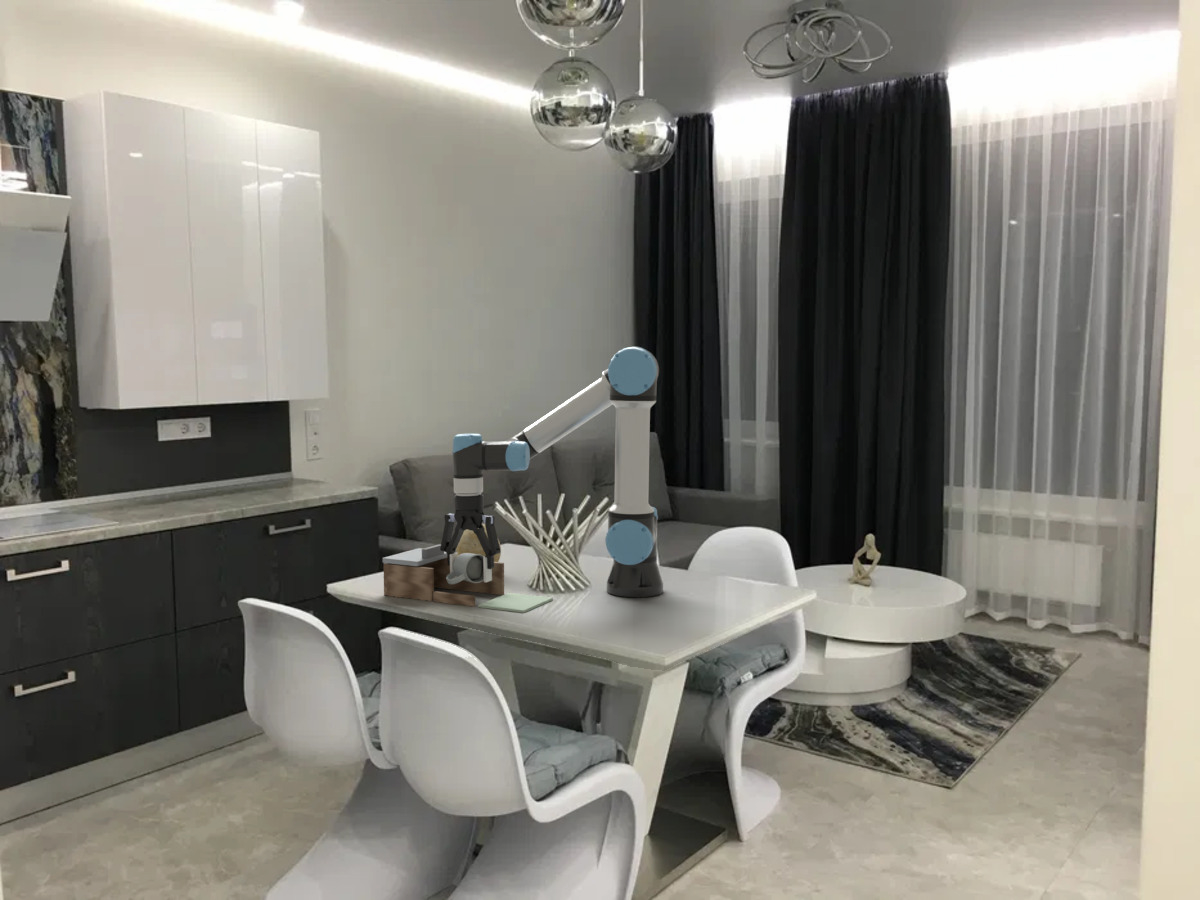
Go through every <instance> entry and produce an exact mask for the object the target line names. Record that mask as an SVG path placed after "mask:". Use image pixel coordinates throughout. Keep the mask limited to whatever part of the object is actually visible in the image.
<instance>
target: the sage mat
mask: <svg viewBox="0 0 1200 900" xmlns="http://www.w3.org/2000/svg"><path fill="white" fill-rule="evenodd" d="M553 600H554V599H553V597H549V596H548V597H547V596H541V595H534V594H533V595H532V594H523V593H516V592H515V593H514V592H506V593H504V595H499V596H497V597H495V598H493V599H489V600H487V601H485V602H483V603H479V604H478V605H477V606H478V608H483V609H490V610H491V609H492V610H499V611H505V612H506V611H507V612H515V613H521V614H522V613H523V614H524V613H526V612H529V611H531V610H534V609H535V608H538V607H540V606H542V605H545V604H547V603H549V602H552V601H553Z"/></svg>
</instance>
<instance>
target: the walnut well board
mask: <svg viewBox="0 0 1200 900" xmlns="http://www.w3.org/2000/svg"><path fill="white" fill-rule="evenodd" d="M449 574H450V566H448V561H447V558H444V559H440V560H437V561H434V562H430V563H427V564H424V565H420V566H410V565H401V564H391V563H383V596H385V595H387V597H393V596H395V597H394V598H401V597H404V598H403V599H409V598H411V599H410V600H417V599H420V600H419V601H425V600H428V601H427V602H433V601H435V602H434V603H441V602H442V604H451V605H457V606H458V605H459V606H466V607H476V595H472V594H471V595H470V594H463V593H454V592H445V591H438V590H435V588H439V589H448V590H454V591H455V590H457V591H462V592H473V593H482V594H490V595H496V596H497V595H499V596H502V595H504V594H505V563H504V562H500V561H498V562H494V568H493V569H492V581H489V582H484V580H483V581H482V582H480V583H472V582H468V581H466V580H462V581H461V582H459V583H456V584H449V583H448V582H447V579H446V577H447V575H449Z"/></svg>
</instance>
